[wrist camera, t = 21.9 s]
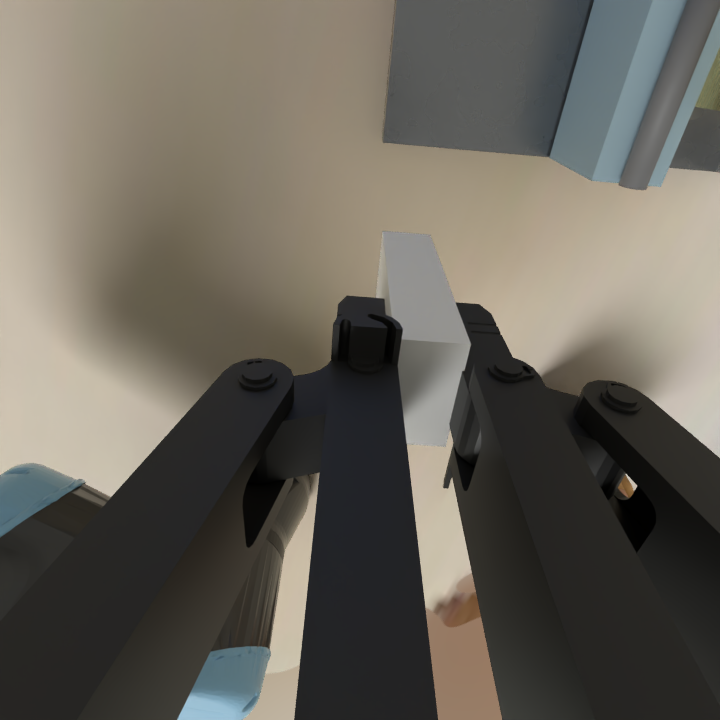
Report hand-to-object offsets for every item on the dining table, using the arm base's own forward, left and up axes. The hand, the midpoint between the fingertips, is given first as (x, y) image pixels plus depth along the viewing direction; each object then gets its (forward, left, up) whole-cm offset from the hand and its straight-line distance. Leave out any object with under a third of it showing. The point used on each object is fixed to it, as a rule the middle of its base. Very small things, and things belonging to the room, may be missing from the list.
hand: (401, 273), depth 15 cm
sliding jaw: (+13, +7, -20) cm, 25 cm away
